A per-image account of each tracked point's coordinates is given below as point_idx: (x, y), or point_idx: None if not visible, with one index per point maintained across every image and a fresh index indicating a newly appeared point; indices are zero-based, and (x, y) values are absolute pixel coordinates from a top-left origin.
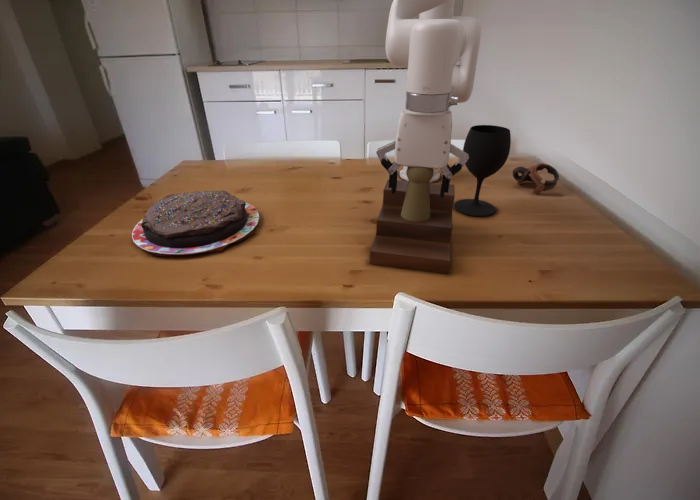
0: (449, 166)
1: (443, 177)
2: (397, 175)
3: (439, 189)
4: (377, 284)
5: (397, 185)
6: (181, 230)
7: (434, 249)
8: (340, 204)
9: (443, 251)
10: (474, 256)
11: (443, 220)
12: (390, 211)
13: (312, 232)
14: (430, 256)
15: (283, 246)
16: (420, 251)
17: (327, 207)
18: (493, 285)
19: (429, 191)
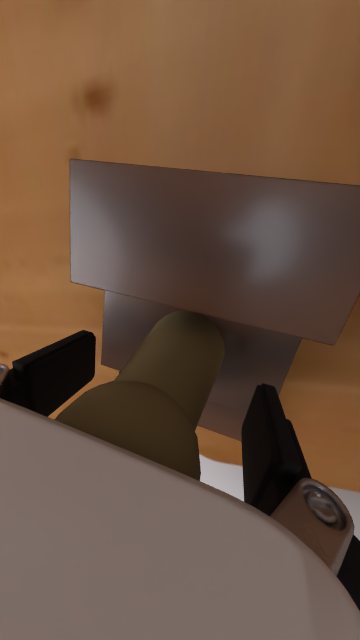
0: (338, 566)
1: (259, 498)
2: (52, 358)
3: (284, 276)
4: None
5: (110, 237)
6: None
7: (223, 408)
8: (41, 135)
9: (239, 415)
10: (314, 381)
11: (255, 383)
12: (125, 324)
13: (34, 287)
14: (210, 426)
15: (16, 329)
16: None
17: (21, 163)
18: (308, 456)
19: (202, 411)
